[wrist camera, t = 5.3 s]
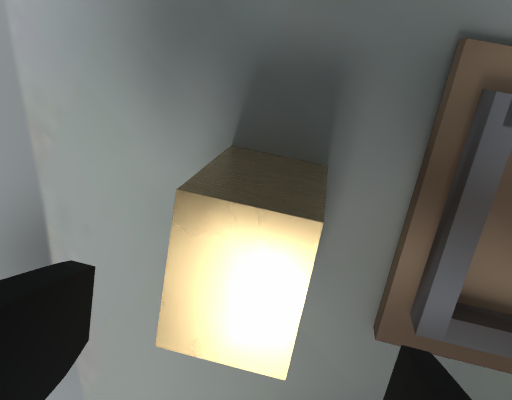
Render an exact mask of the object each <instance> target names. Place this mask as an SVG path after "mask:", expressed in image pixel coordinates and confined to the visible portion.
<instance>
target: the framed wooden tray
mask: <svg viewBox="0 0 512 400" xmlns="http://www.w3.org/2000/svg"><path fill="white" fill-rule="evenodd" d="M374 334H375V340H378V341H382V342H386V343H390V344H394V345H398V346H401V345H405V346H409V347H412V348H416V349H420V350H424V351H428V352H430V353H431V354H434V355H438V356H442V357H446V358H450V359H454V360H458V361H462V362H466V363H470V364H475V365H479V366H483V367H487V368H491V369H495V370H499V371H503V372H507V373H511V374H512V46H507V45H502V44H496V43H491V42H485V41H480V40H474V39H469V38H465V39H459V42H458V46H457V49H456V52H455V56H454V59H453V62H452V66H451V69H450V72H449V76H448V79H447V82H446V86H445V89H444V92H443V96H442V99H441V102H440V106H439V109H438V113H437V116H436V119H435V123H434V126H433V129H432V133H431V136H430V139H429V143H428V146H427V149H426V153H425V156H424V159H423V163H422V166H421V169H420V173H419V176H418V179H417V183H416V186H415V190H414V193H413V196H412V200H411V203H410V206H409V210H408V213H407V216H406V220H405V223H404V226H403V230H402V233H401V236H400V240H399V243H398V246H397V250H396V253H395V256H394V260H393V263H392V266H391V270H390V273H389V277H388V280H387V283H386V287H385V290H384V293H383V297H382V300H381V303H380V307H379V310H378V313H377V317H376V320H375V323H374Z"/></svg>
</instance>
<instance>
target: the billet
mask: <svg viewBox="0 0 512 400" xmlns="http://www.w3.org/2000/svg"><path fill="white" fill-rule="evenodd" d="M327 169H328V166H324V165H319V164H315V163H310V162H305V161H301V160H296V159H292V158H287V157H282V156H278V155H273V154H268V153H264V152H259V151H254V150H250V149H245V148H240V147H236V146H230V147H229V148H228V149H226V150H225V151H224V152H223V153H221V154H220V155H219V156H218V157H216V158H215V159H214V160H213V161H211V162H210V163H209V164H208V165H206V166H205V167H204V168H203V169H201V170H200V171H199V172H198V173H196V174H195V175H194V176H193V177H191V178H190V179H189V180H188V181H186V182H185V183H184V184H183V185H182V186H180V187H179V188H178V189H177V190H176V197H175V205H174V212H173V219H172V227H171V234H170V241H169V249H168V256H167V264H166V271H165V278H164V286H163V293H162V300H161V308H160V315H159V323H158V330H157V337H156V345H155V346H156V347H160V348H164V349H168V350H172V351H175V352H179V353H183V354H187V355H191V356H194V357H198V358H202V359H206V360H210V361H213V362H217V363H221V364H225V365H229V366H232V367H236V368H240V369H244V370H248V371H251V372H255V373H259V374H263V375H267V376H270V377H274V378H278V379H282V380H286V376H287V371H288V367H289V363H290V359H291V355H292V351H293V347H294V343H295V338H296V334H297V330H298V326H299V322H300V318H301V314H302V309H303V305H304V301H305V297H306V293H307V289H308V285H309V281H310V276H311V272H312V268H313V264H314V260H315V256H316V252H317V248H318V243H319V239H320V235H321V231H322V227H323V223H324V209H325V196H326V183H327Z"/></svg>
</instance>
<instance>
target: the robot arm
mask: <svg viewBox="0 0 512 400" xmlns="http://www.w3.org/2000/svg"><path fill="white" fill-rule="evenodd" d="M94 275H95V266H91V265H87V264H83V263H79V262H75V261H66V262H61V263H57V264H53V265H49V266H46V267H43V268H39V269H36V270H33V271H29V272H26V273H22V274H19V275H16V276H12V277H9V278H6V279H2V280H0V400H45V399H46V398H47V397H48V396H49V394H50V393H51V392H52V391H53V390H54V389H55V387H56V386H57V385H58V384H59V383H60V382H61V380H62V379H63V378H64V377H65V375H66V374H67V373H68V371H69V370H70V368H71V367H72V365H73V364H74V362H75V361H76V359H77V358H78V356H79V355H80V353H81V351H82V350H83V348H84V347H85V345H86V343H87V342H88V340H89V330H90V319H91V308H92V297H93V286H94ZM383 400H472V399H471V398H470V397H469V396H468V395H467V394H466V392H465V391H464V390H463V389H462V388H461V387H460V385H459V384H458V383H457V382H456V381H455V380H454V378H453V377H452V376H451V375H450V374H449V373H448V371H447V370H446V369H445V368H444V367H443V366H442V365H441V363H440V362H439V361H438V360H437V359H436V358H435V357H434V356H433V355H432V354H431V353H430V352H428V351H424V350H420V349H416V348H412V347H409V346H405V345H401V348H400V351H399V354H398V357H397V360H396V363H395V366H394V369H393V372H392V375H391V378H390V381H389V384H388V387H387V390H386V393H385V396H384V399H383Z"/></svg>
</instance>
